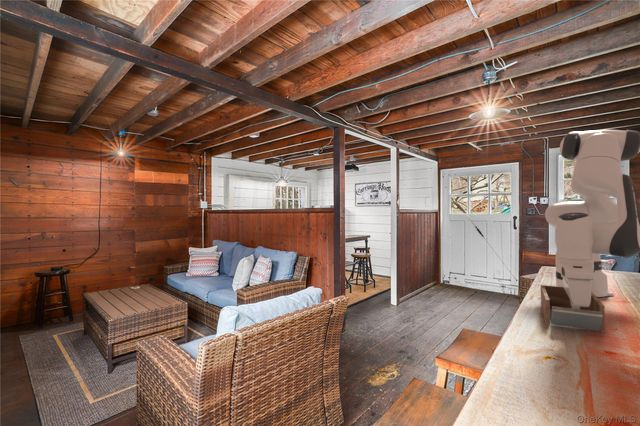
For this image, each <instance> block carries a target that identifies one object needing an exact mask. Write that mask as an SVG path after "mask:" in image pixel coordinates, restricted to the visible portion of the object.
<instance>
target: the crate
mask: <svg viewBox="0 0 640 426" xmlns="http://www.w3.org/2000/svg"><path fill="white" fill-rule="evenodd" d="M552 306H554V307H563V308H571V303H570V299H569V297H568V295H567V293H566V291H565V289H564V288H563V287H556V285H555V286H554V285H553V286H552V285H542V284H540V307H541V309H542V314H543V318H544V321H545V324H546V325H551V310H550V309H552ZM580 310H589V311H597V312H602V313H603V317H602V322H601V326H600V330H599V331H598V332H600V333H606V321H605V319H606V314H605V304H604V303H602V301H601V300H600V299H599V297H596V296H595V295H594V294H593V293H592V291H591V302H590V305H589V307H580Z"/></svg>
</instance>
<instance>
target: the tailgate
mask: <svg viewBox="0 0 640 426" xmlns="http://www.w3.org/2000/svg"><path fill="white" fill-rule="evenodd" d="M602 317H603V313H602V312H597V311H589V310H580V309H571V308H563V307H554V306H552V308H551V316H550V325H551V326H552V325H553V326H559V327H567V328H575V329H580V330H581V329H582V330H586V331H587V330H589V331H597V332H600V331H599V330H600V326H601V322H602Z"/></svg>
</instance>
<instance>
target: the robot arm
mask: <svg viewBox="0 0 640 426" xmlns="http://www.w3.org/2000/svg"><path fill="white" fill-rule="evenodd" d="M559 152H560V155H561V156H562V158H564V159H566V160H571V161H573V160H575V163H574V168H573V171H572V178H571V180H570V181H571V183H570V188H571V190H572V192H574V193H575V194H577V195H580V196H582V197H583V199H582V201H562V202H561V201H560V202H557V203H552V204H551V203H550V204H549V205H548V206H547V208H546V209H545V211H544V212H545V213H544V217H545V220H546V222H547V223H548V224H549V225H550V226H552V227H553V228H555V229H554V243H555V245H556V252H555V272H556V271H557V272H559V273H561V277H562V278H563V288H564V289H565V291H566V293H567V295H568V297H569V299H570V303H571V309H580V307H589V305H590V302H591V291H592V293H593V294H594V295H595V296H596V297H597V298H605V297H613V296H614V295H615V294H614V292H613V291H611V290H610V289H609V284H608V275H607V274H606V273H605V272H603V271H602V270H603V263H602V262H603V261H602V260H601V255H607V256H608V255H609V256H613V257H620V258H626V259H629V258H631V257H634V256H636V255H638V254H640V214H639V207H638V199H637V194H636V193H637V192H636V189H635V184H634V182H633V179H632V178H631V177H630V175H629V174H625V173H623V172H622V170H621V163H622V162H624V161H630V160H632V159H634V158H636V157H637V155H638V154H639V153H640V132H639V131H637V130H631V129H626V130H620V129H600V130H598V129H597V130H584V131H570V132H567V134H565V135H564V137H563V139H562V140H561V141H560V144H559ZM610 196H611V197H614V198H615V199H616V202H615V201H614V200H613V199H611V198H610Z"/></svg>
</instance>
